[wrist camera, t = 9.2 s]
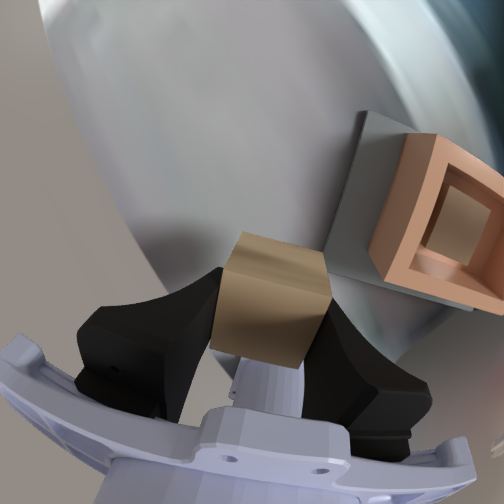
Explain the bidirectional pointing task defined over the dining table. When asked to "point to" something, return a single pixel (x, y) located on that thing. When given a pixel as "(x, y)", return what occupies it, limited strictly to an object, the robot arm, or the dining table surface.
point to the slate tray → (368, 205)
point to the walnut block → (455, 225)
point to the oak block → (270, 301)
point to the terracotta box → (417, 217)
